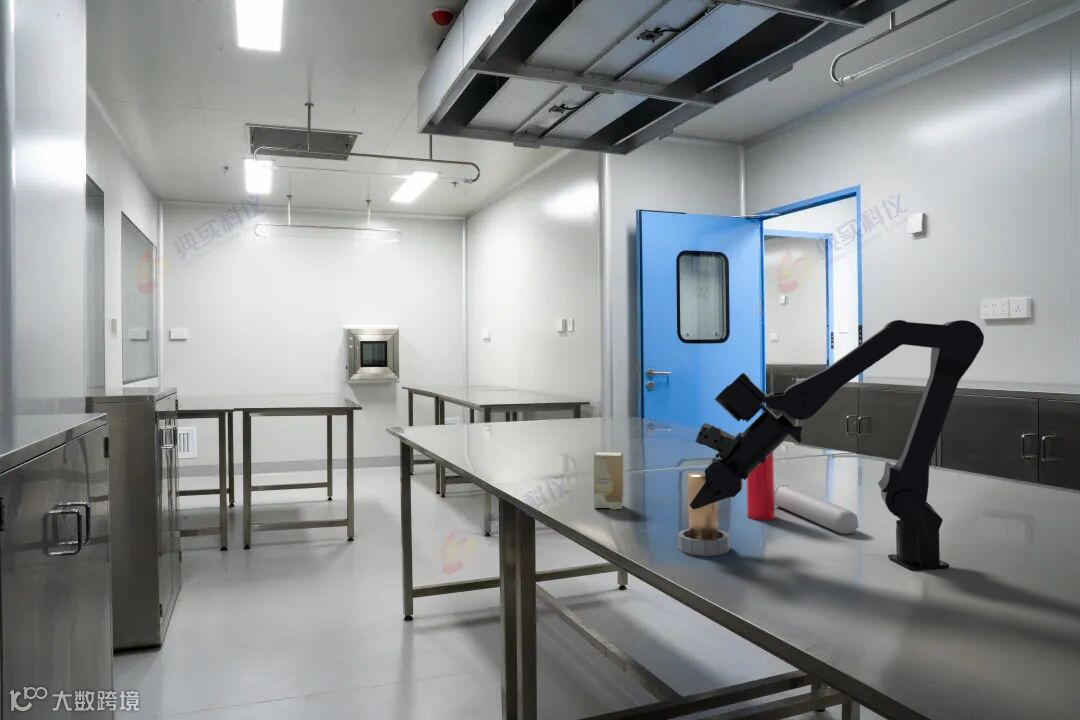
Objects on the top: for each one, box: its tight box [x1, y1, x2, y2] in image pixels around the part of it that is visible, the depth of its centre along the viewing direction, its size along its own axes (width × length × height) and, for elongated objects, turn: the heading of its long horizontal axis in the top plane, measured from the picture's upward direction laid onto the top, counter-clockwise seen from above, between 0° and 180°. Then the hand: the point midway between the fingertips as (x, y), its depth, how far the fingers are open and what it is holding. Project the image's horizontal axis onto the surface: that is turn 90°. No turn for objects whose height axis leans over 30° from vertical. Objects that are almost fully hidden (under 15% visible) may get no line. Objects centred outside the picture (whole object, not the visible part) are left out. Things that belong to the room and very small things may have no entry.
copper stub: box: [687, 472, 719, 540], centre depth 123 cm, size 5×5×13 cm
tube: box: [774, 484, 860, 535], centre depth 141 cm, size 5×5×25 cm
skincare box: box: [593, 451, 624, 510], centre depth 157 cm, size 6×4×12 cm
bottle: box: [745, 451, 776, 521], centre depth 145 cm, size 5×5×20 cm
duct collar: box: [677, 528, 731, 557], centre depth 123 cm, size 9×9×2 cm
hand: (694, 502), depth 124 cm, fingers open, 7 cm apart
